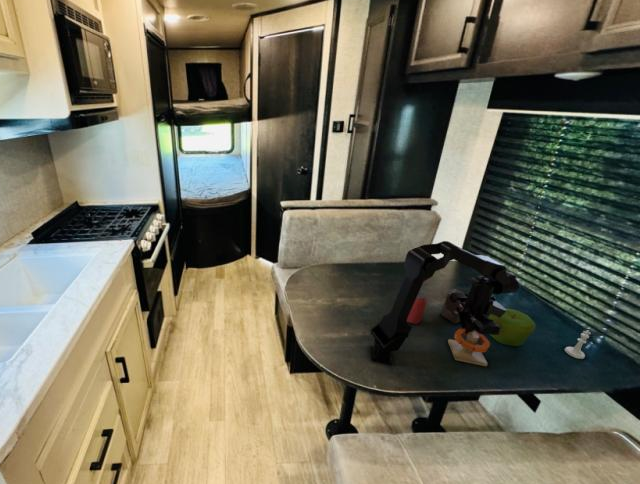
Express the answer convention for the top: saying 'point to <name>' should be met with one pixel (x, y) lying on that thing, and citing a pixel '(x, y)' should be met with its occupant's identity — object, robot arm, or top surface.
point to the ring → (468, 345)
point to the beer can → (417, 308)
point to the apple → (513, 327)
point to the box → (451, 308)
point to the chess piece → (578, 346)
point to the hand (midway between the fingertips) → (465, 331)
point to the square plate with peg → (467, 351)
